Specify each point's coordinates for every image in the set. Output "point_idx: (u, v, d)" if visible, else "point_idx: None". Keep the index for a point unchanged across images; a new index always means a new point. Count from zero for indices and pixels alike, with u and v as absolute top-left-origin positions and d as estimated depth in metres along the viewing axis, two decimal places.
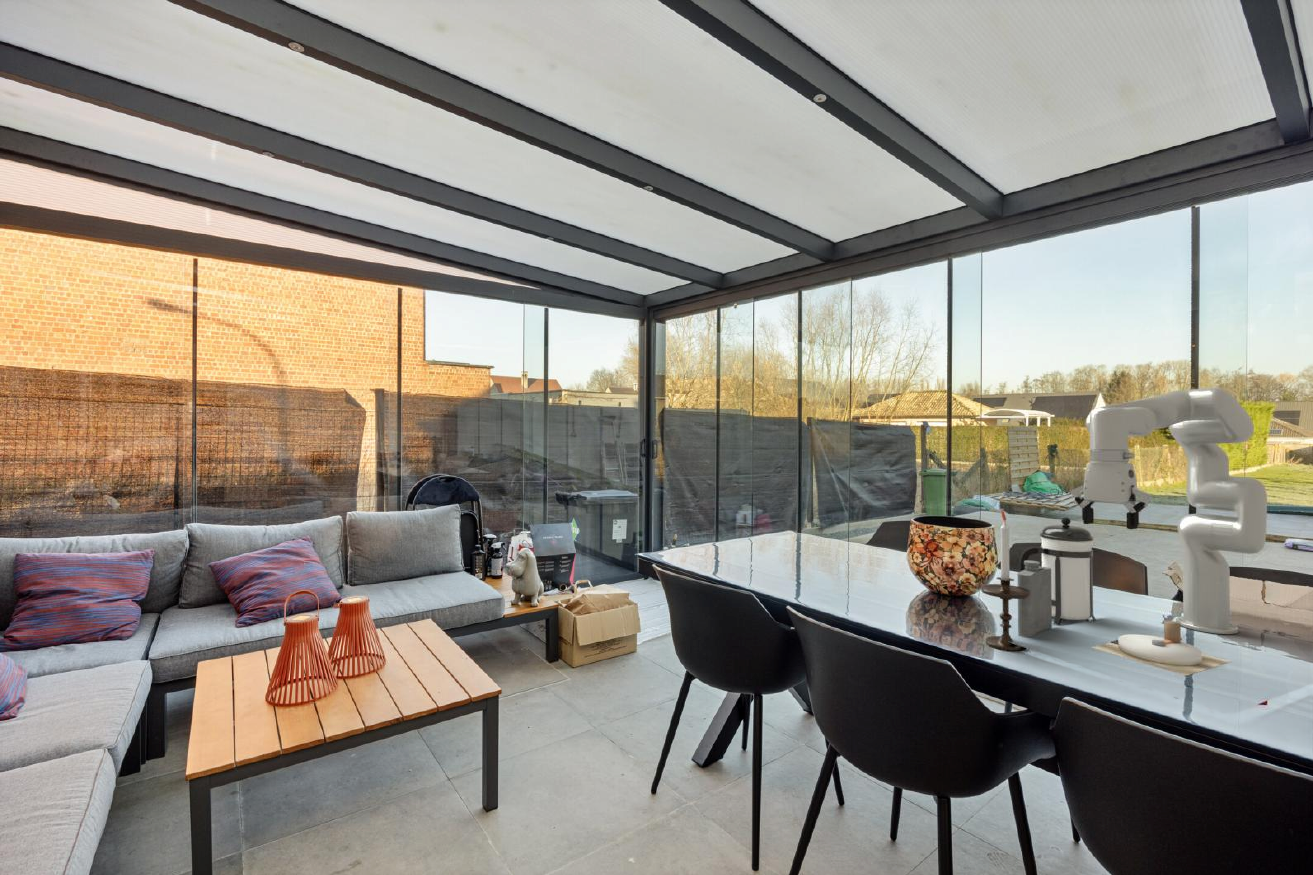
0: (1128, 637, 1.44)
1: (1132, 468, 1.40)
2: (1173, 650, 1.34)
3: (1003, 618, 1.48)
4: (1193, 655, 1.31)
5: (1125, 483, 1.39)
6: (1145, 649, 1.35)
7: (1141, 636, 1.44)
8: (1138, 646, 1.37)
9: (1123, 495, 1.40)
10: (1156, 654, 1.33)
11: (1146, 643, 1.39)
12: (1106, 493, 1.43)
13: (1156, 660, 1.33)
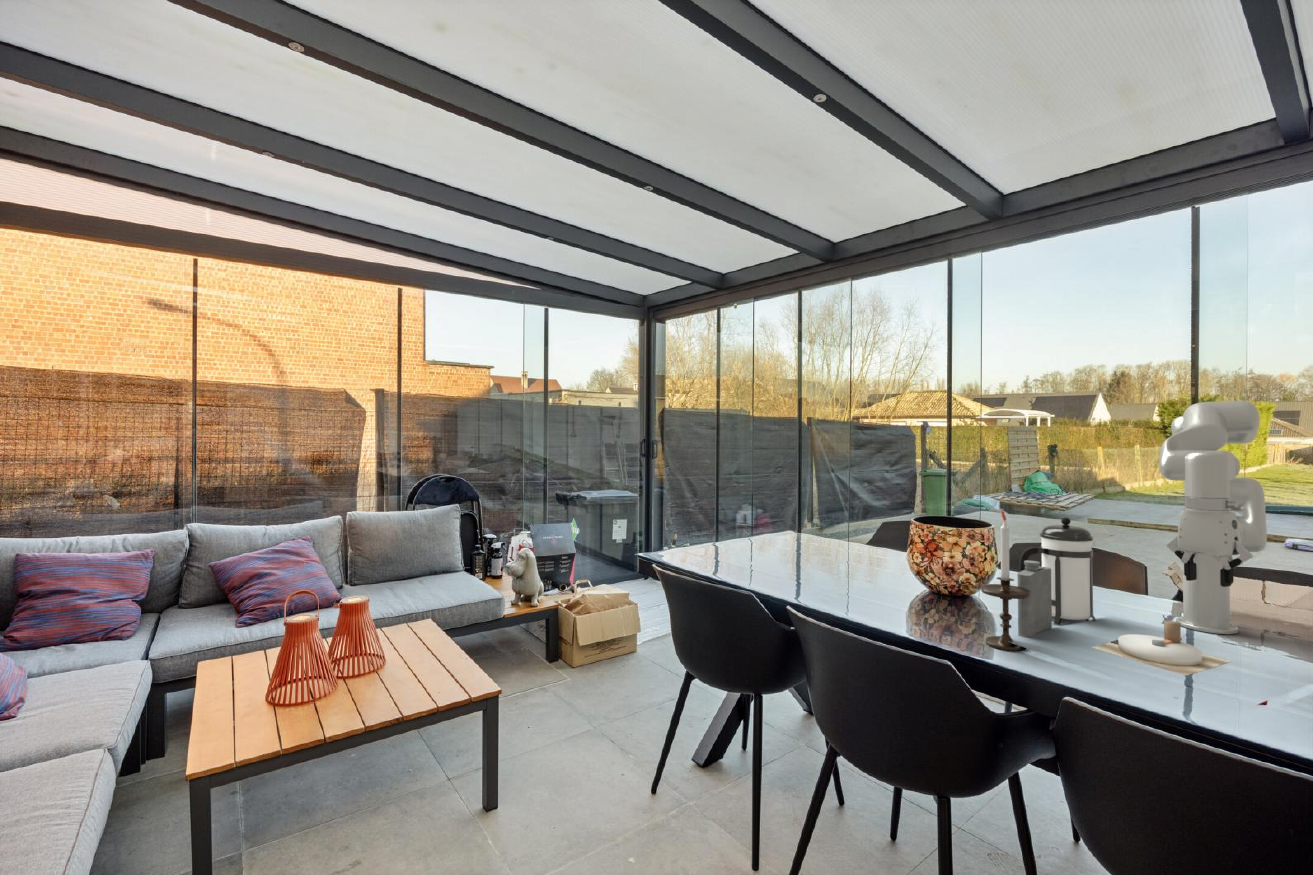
0: (1128, 637, 1.44)
1: (1235, 518, 1.31)
2: (1173, 650, 1.34)
3: (1003, 618, 1.48)
4: (1193, 655, 1.31)
5: (1228, 534, 1.30)
6: (1145, 649, 1.35)
7: (1141, 636, 1.44)
8: (1138, 646, 1.37)
9: (1226, 547, 1.30)
10: (1156, 654, 1.33)
11: (1146, 643, 1.39)
12: (1206, 544, 1.33)
13: (1156, 660, 1.33)
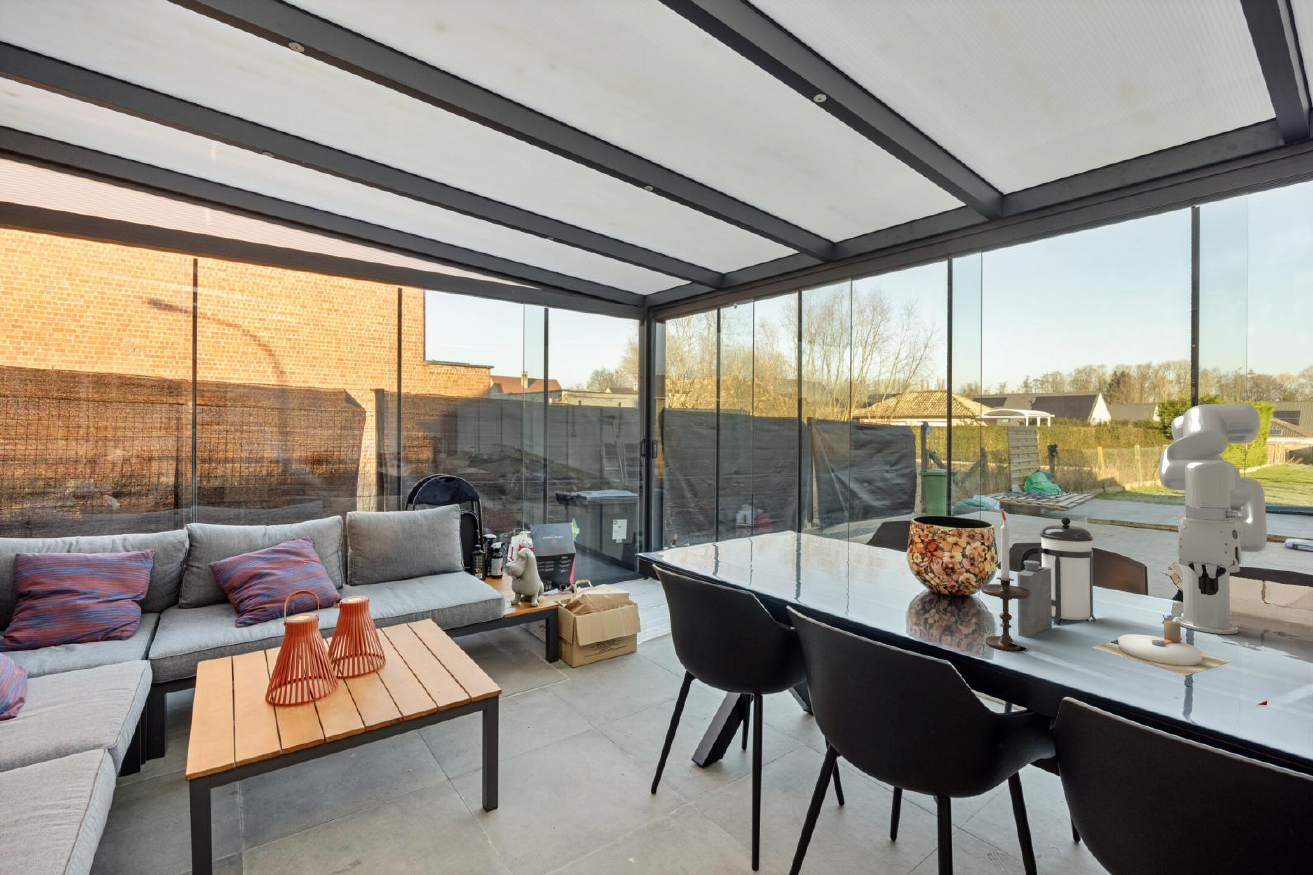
0: (1128, 637, 1.44)
1: (1235, 528, 1.30)
2: (1173, 650, 1.34)
3: (1003, 618, 1.48)
4: (1193, 655, 1.31)
5: (1229, 544, 1.29)
6: (1145, 649, 1.35)
7: (1141, 636, 1.44)
8: (1138, 646, 1.37)
9: (1227, 557, 1.30)
10: (1156, 654, 1.33)
11: (1146, 643, 1.39)
12: (1206, 554, 1.33)
13: (1156, 660, 1.33)
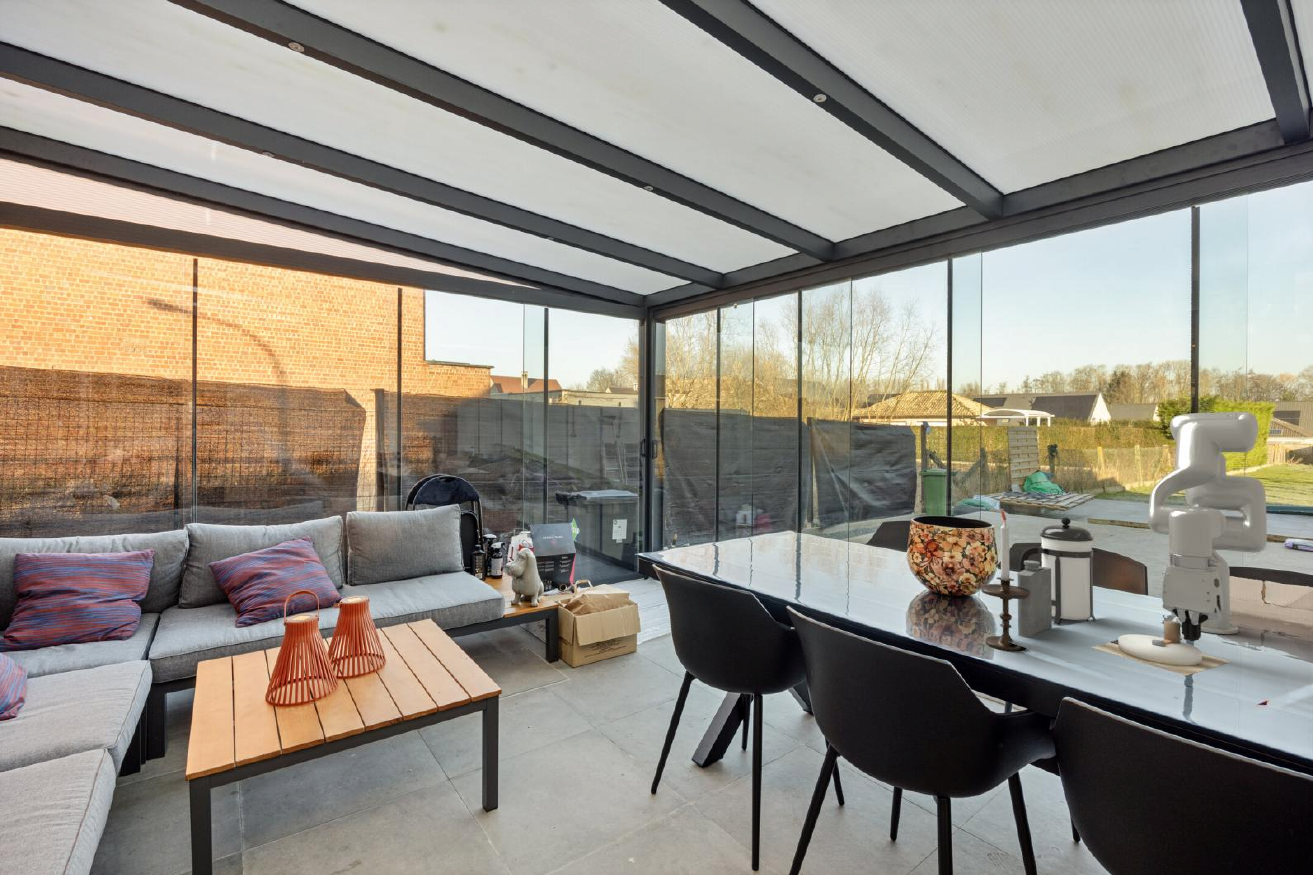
0: (1128, 637, 1.43)
1: (1217, 576, 1.34)
2: (1173, 650, 1.34)
3: (1003, 618, 1.48)
4: (1193, 655, 1.31)
5: (1211, 593, 1.32)
6: (1145, 649, 1.35)
7: (1141, 636, 1.44)
8: (1138, 647, 1.37)
9: (1209, 605, 1.33)
10: (1156, 654, 1.33)
11: (1146, 643, 1.39)
12: (1189, 601, 1.36)
13: (1156, 660, 1.33)
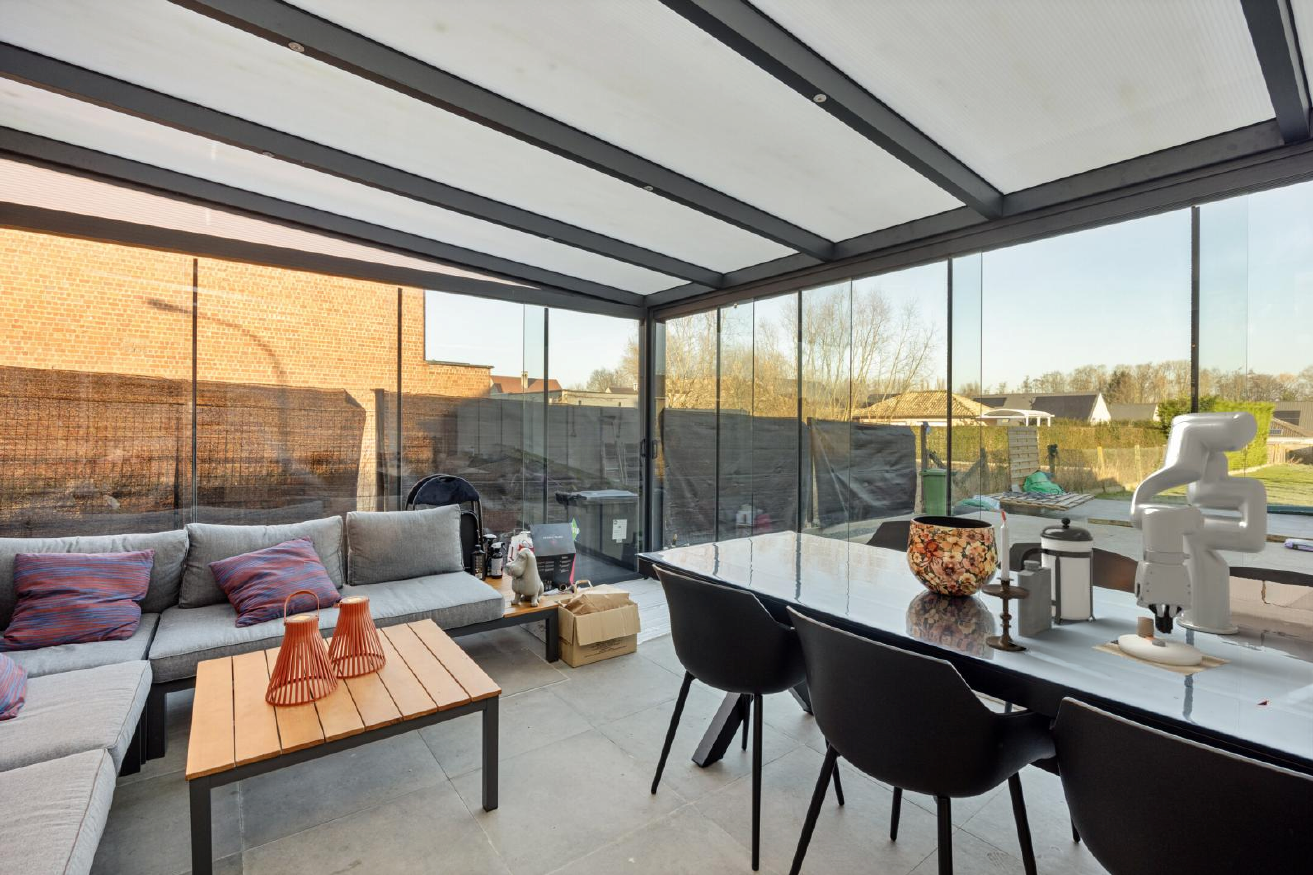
0: (1129, 643, 1.40)
1: None
2: (1180, 648, 1.36)
3: (1003, 618, 1.48)
4: (1198, 649, 1.35)
5: (1190, 585, 1.40)
6: (1175, 654, 1.32)
7: (1128, 638, 1.43)
8: (1165, 653, 1.33)
9: (1188, 597, 1.40)
10: (1190, 658, 1.31)
11: (1152, 645, 1.38)
12: (1170, 596, 1.41)
13: (1189, 663, 1.31)
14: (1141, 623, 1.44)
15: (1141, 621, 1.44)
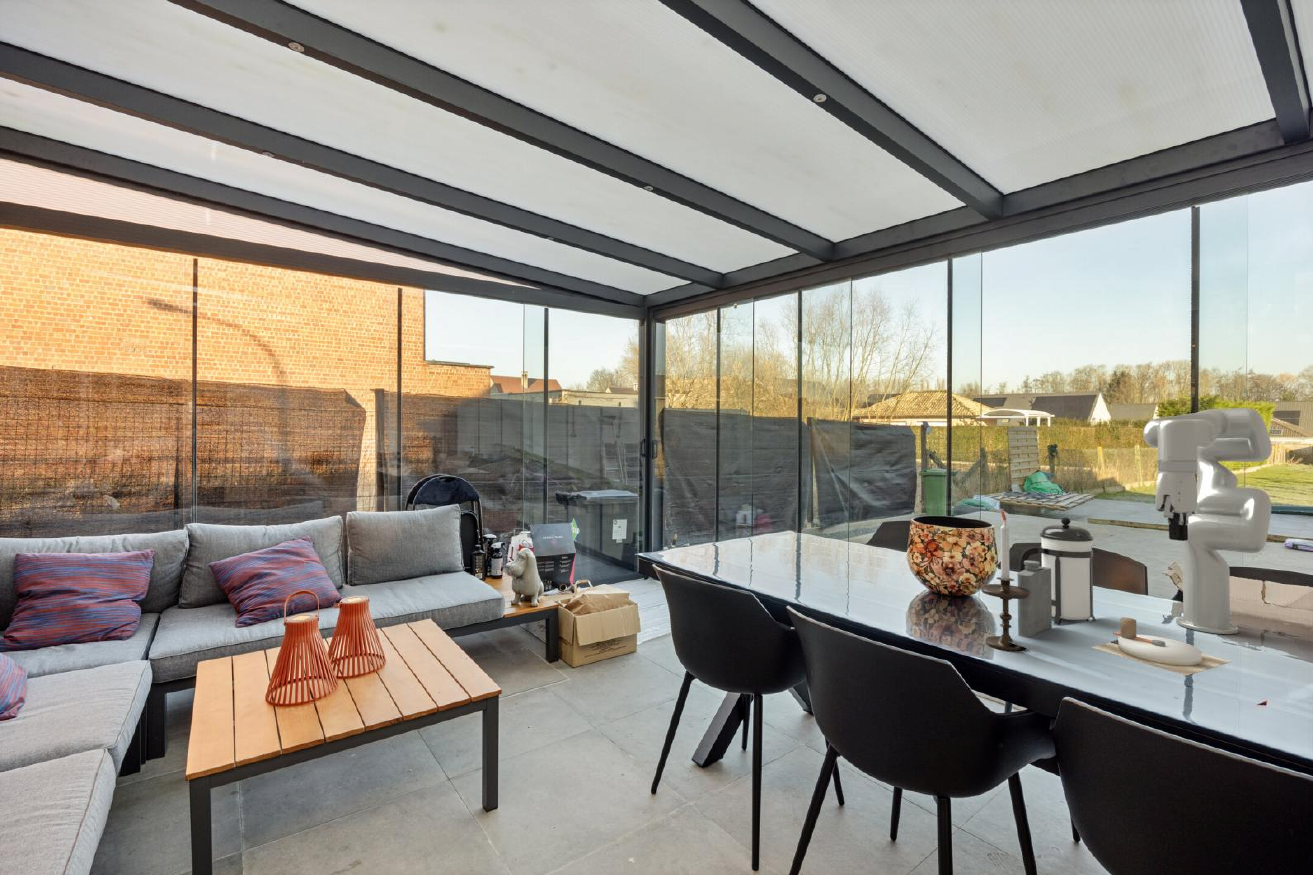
0: (1148, 649, 1.35)
1: None
2: (1173, 644, 1.39)
3: (1003, 618, 1.48)
4: (1177, 641, 1.41)
5: None
6: (1193, 653, 1.33)
7: (1133, 644, 1.39)
8: (1188, 653, 1.32)
9: (1195, 503, 1.48)
10: None
11: (1161, 647, 1.36)
12: (1189, 503, 1.46)
13: None
14: (1129, 625, 1.42)
15: (1130, 623, 1.42)
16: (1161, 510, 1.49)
